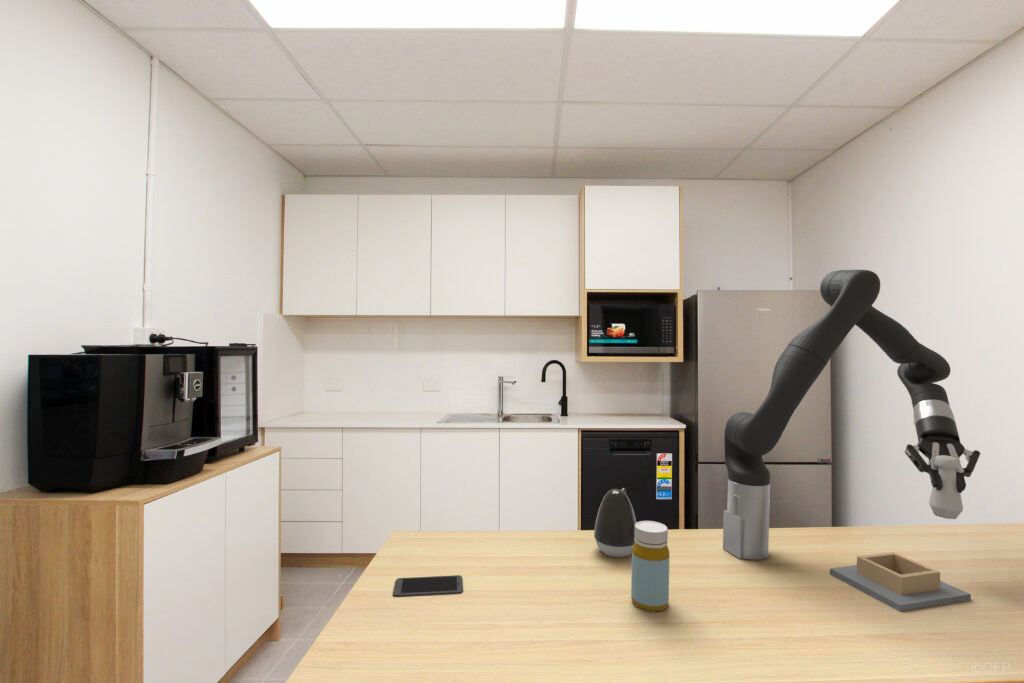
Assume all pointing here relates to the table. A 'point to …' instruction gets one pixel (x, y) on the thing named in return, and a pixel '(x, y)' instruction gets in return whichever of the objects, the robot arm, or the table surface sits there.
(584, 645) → the table surface
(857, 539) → the table surface
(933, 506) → the salt shaker
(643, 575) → the bottle
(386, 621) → the table surface
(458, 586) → the cell phone
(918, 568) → the holder
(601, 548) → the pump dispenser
